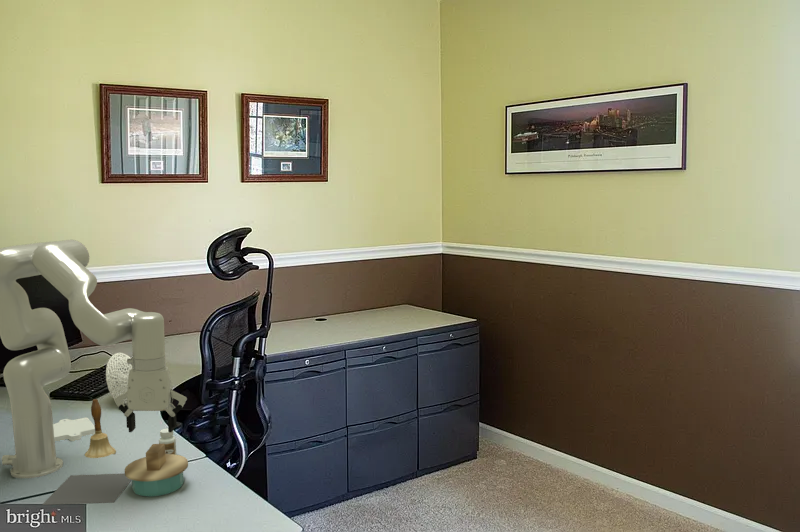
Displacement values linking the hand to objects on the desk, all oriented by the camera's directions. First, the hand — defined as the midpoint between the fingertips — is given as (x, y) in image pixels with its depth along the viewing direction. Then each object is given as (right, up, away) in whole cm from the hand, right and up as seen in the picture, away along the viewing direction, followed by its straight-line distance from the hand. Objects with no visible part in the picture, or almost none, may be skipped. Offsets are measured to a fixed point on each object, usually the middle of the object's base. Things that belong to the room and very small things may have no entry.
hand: (151, 430), depth 186 cm
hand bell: (-23, -12, +25) cm, 36 cm away
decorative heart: (-31, -7, +69) cm, 76 cm away
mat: (-15, -15, +1) cm, 22 cm away
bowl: (+1, -15, +2) cm, 15 cm away
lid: (+1, -10, +1) cm, 10 cm away
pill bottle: (-3, -12, +22) cm, 25 cm away
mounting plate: (-39, -11, +43) cm, 59 cm away
